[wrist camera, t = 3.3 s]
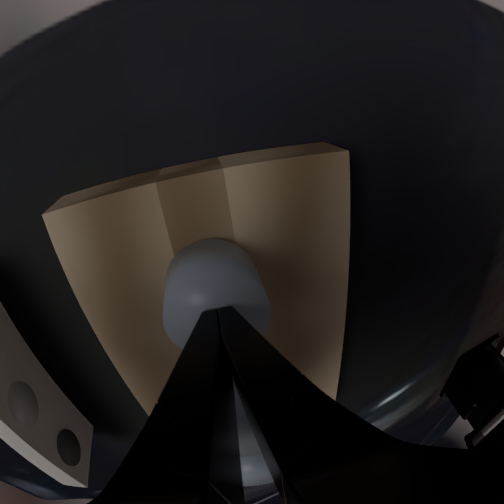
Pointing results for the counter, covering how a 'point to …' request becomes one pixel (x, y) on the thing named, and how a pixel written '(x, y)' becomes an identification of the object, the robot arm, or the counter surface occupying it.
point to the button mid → (245, 431)
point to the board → (213, 227)
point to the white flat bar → (40, 413)
